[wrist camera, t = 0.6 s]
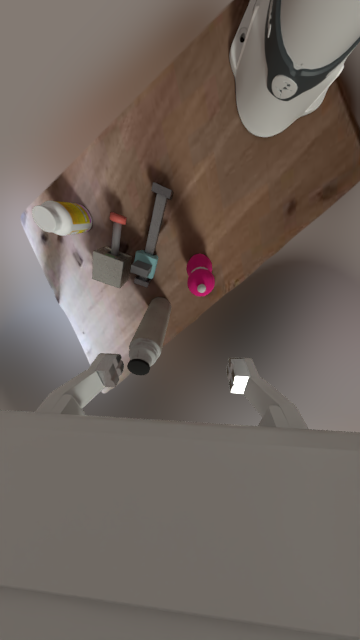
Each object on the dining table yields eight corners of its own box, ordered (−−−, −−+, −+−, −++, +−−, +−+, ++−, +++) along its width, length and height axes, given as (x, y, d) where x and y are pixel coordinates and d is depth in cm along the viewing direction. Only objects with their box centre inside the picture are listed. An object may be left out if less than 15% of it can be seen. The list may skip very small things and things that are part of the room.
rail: (156, 184, 37) (153, 181, 34) (173, 192, 38) (171, 190, 35) (137, 278, 51) (133, 282, 48) (150, 283, 52) (147, 287, 49)
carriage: (140, 249, 45) (129, 255, 38) (159, 256, 46) (152, 264, 38) (136, 268, 48) (126, 277, 41) (154, 274, 49) (147, 285, 42)
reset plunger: (114, 212, 40) (107, 212, 36) (128, 218, 40) (123, 218, 37) (110, 255, 46) (104, 258, 43) (123, 260, 46) (117, 263, 43)
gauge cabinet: (106, 245, 46) (92, 250, 40) (132, 255, 47) (123, 261, 41) (104, 271, 50) (92, 278, 44) (128, 279, 51) (119, 288, 45)
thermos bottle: (171, 316, 59) (156, 381, 36) (150, 314, 59) (123, 378, 36) (171, 298, 54) (155, 358, 31) (149, 296, 54) (117, 355, 31)
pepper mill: (191, 279, 50) (191, 310, 33) (183, 257, 46) (178, 280, 30) (213, 270, 48) (224, 299, 31) (206, 247, 44) (214, 266, 28)
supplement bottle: (72, 196, 40) (28, 189, 29) (96, 215, 42) (63, 215, 31) (66, 221, 43) (24, 222, 32) (88, 237, 45) (56, 243, 34)
